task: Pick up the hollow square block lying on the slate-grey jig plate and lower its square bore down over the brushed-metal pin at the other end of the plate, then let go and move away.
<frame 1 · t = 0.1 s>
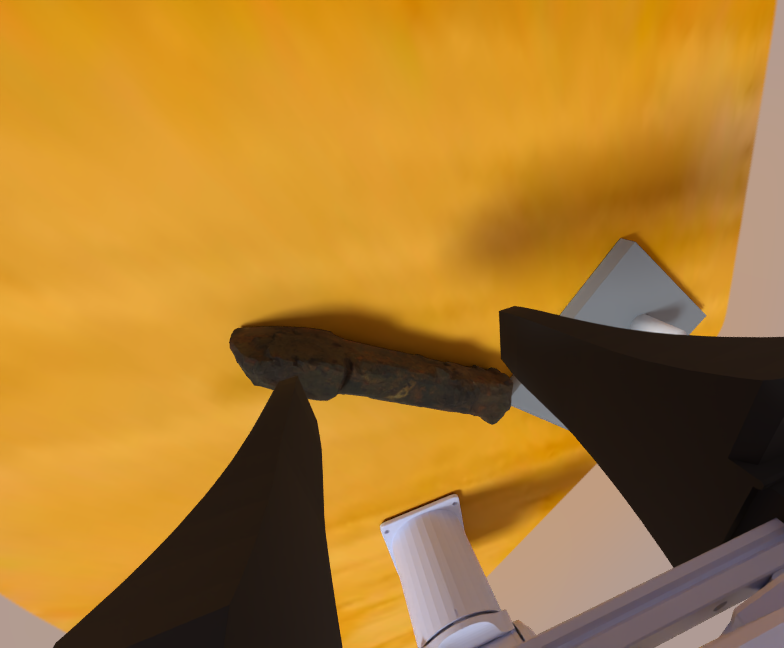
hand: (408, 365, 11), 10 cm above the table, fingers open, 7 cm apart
hand tool: (376, 362, 23), on the table
jig plate: (598, 350, 29), on the table
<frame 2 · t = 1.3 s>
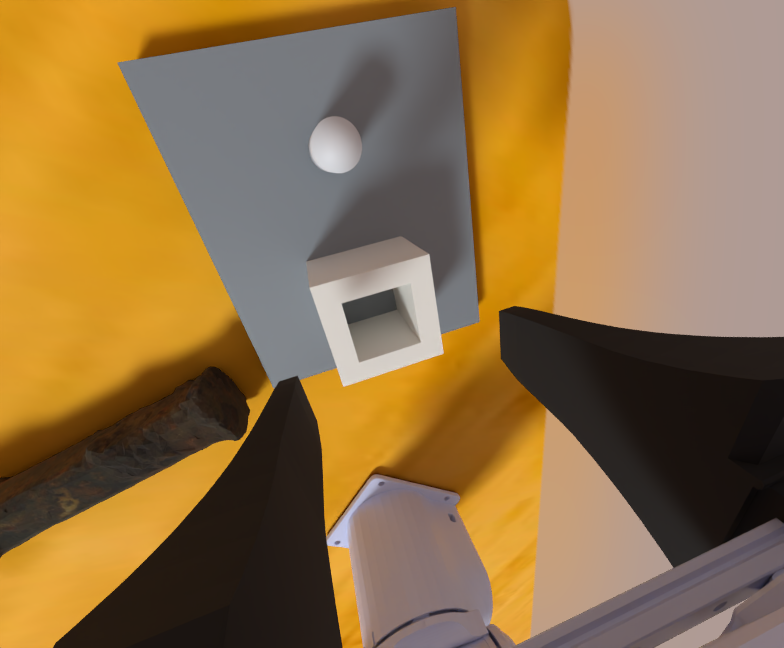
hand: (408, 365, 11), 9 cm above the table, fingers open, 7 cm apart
hollow square block: (366, 293, 18), point 1 cm above the table, touching jig plate
hand tool: (99, 455, 19), on the table
jig plate: (346, 225, 17), on the table
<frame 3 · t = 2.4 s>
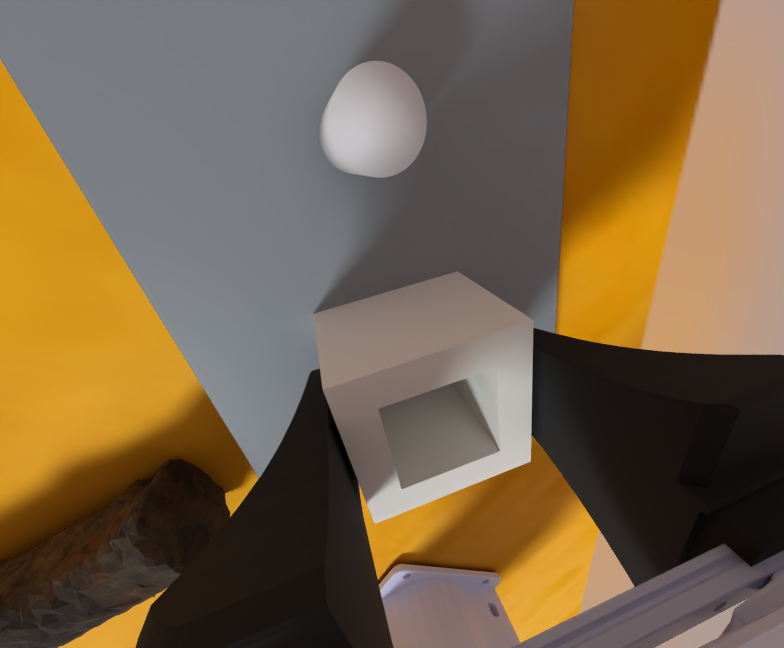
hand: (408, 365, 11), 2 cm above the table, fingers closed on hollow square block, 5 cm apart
hollow square block: (401, 353, 12), point 1 cm above the table, touching gripper, jig plate
hand tool: (16, 579, 13), on the table
jig plate: (373, 254, 11), on the table
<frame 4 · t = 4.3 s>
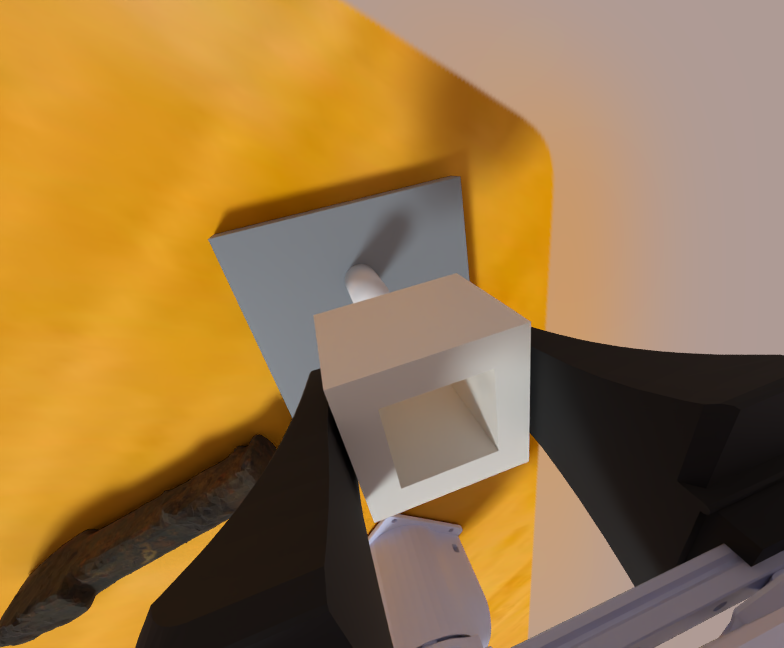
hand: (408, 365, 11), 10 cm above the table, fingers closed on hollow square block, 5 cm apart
hollow square block: (400, 354, 12), point 9 cm above the table, touching gripper
hand tool: (163, 506, 23), on the table
jig plate: (370, 324, 21), on the table
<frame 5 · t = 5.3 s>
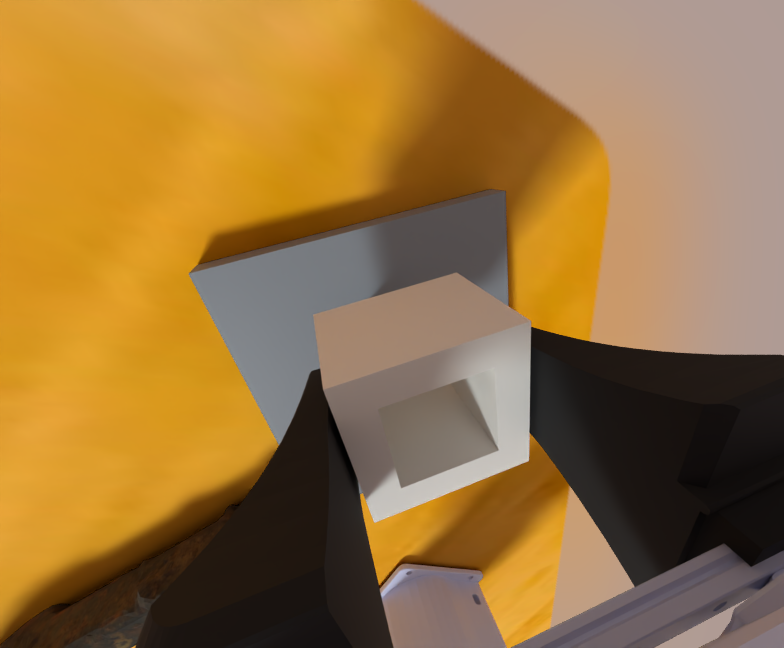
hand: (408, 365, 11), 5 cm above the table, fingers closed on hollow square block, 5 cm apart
hollow square block: (400, 354, 12), point 4 cm above the table, touching gripper
hand tool: (143, 572, 20), on the table
jig plate: (388, 364, 17), on the table
when the fingers open (3 cm above the table, at t = 6.3 s): hollow square block drops 1 cm, resting on jig plate.
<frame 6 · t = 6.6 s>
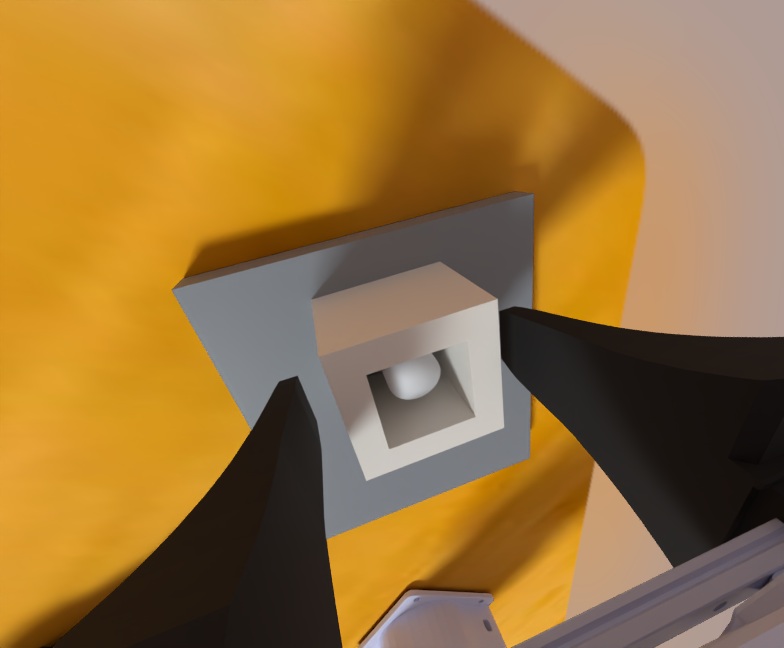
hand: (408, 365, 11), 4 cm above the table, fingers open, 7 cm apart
hollow square block: (391, 336, 13), point 1 cm above the table, touching jig plate
jig plate: (398, 384, 16), on the table
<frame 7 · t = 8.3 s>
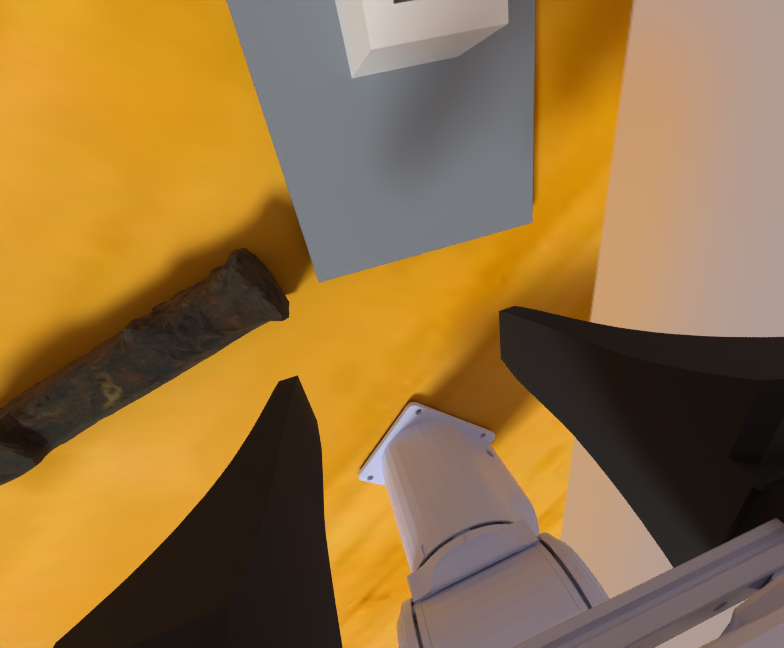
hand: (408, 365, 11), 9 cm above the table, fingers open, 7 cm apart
hand tool: (136, 361, 18), on the table
jig plate: (401, 97, 16), on the table
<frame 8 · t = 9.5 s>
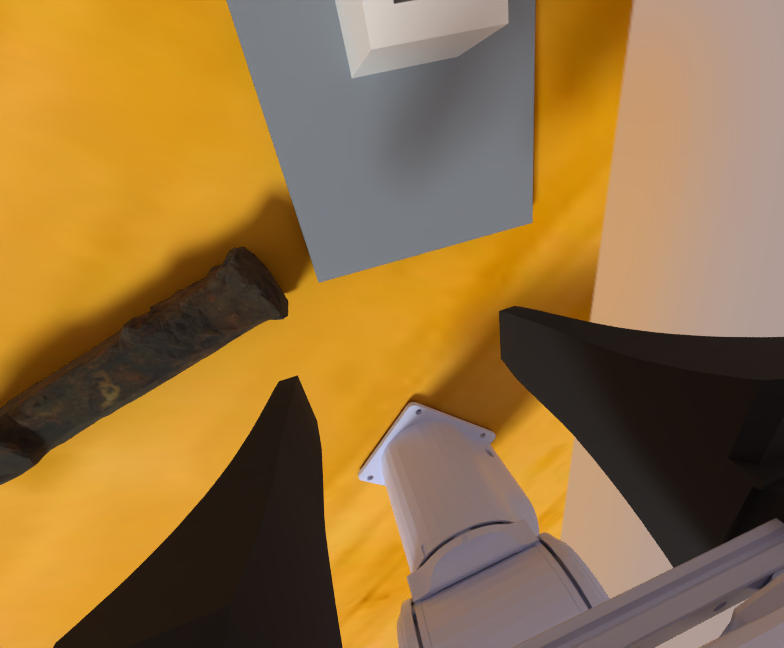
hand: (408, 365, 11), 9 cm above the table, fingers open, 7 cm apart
hand tool: (135, 361, 18), on the table
jig plate: (401, 97, 16), on the table
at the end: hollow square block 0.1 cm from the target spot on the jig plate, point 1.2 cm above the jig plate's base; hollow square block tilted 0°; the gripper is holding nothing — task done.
